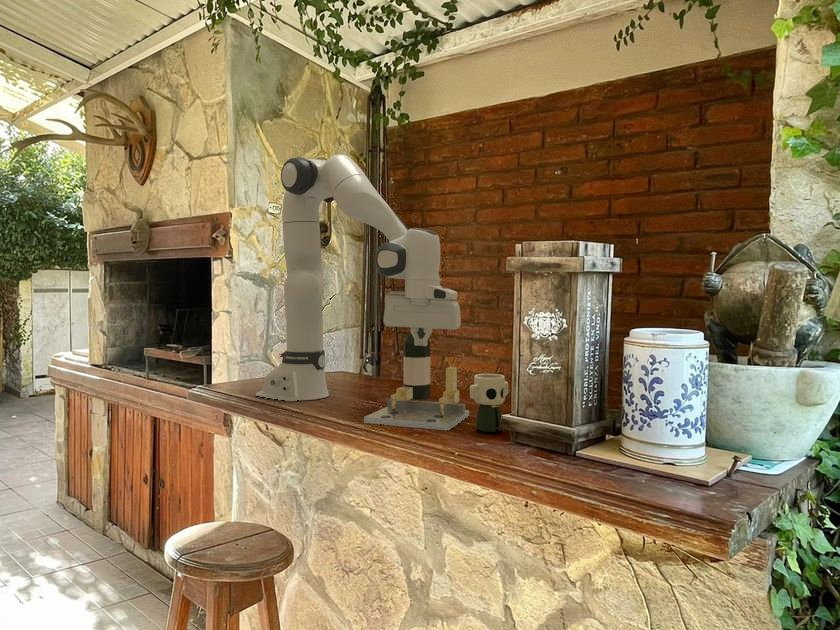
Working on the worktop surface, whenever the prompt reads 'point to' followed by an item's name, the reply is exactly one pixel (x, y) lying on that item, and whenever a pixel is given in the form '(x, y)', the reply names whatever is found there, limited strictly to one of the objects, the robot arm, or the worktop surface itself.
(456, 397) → the sliding leg
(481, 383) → the character mug
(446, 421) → the flange plate
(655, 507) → the worktop surface
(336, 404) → the worktop surface
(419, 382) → the wine bottle
